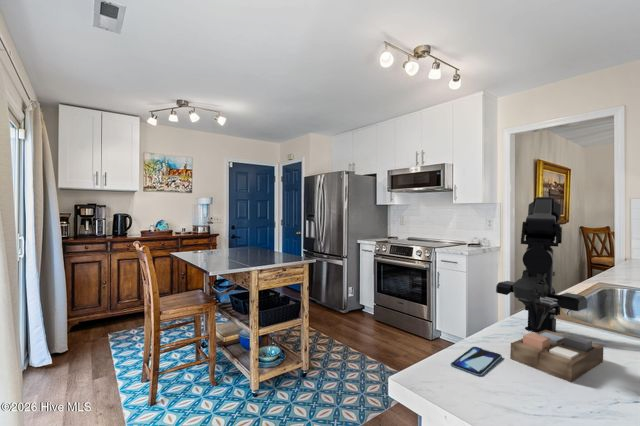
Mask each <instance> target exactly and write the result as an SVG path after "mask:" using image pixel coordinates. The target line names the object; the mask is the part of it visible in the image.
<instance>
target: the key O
mask: <svg viewBox="0 0 640 426" xmlns="http://www.w3.org/2000/svg"><path fill="white" fill-rule="evenodd" d="M565 336H566V337H564V346H568V347H571V348H574V349H577V350H580V351H584V352H589V351H590V350H592V343H593V339H589V338H585V337H582V336H579V335H576V334H569V335H565Z"/></svg>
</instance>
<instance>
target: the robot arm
mask: <svg viewBox="0 0 640 426" xmlns="http://www.w3.org/2000/svg"><path fill="white" fill-rule="evenodd" d="M527 209H528V211H527V215H526V218H525V221H522V224H521V225H522V227H521V234H520V235H521V236H520V245H527V247H526V249H525V252H524V253H523V255H522V263H523V266H524V267H525V269H523V270H522V273H521V274H522V275H521V278H519V279H518V280H516V281H510V280H505V281H500V282H498V283H497V284H496V287H495V293H496V294H501V295H505V296H508V295H509V294H511V293H513V295H514V298H516V299H517V301H519V302H521V303H522V304H523V305H524V310H525V311H527V326H525V327H524V329H525V330H528V331H532V332H533V333H538V332H541V331H544V330H548V331H552V332H555V333H557V319H556V318H555V316H557V317H558V316H561V309H565V310H569V311H573V312H580V311H582V310H584V309H587V308H588V299H587V298H586V297H585V295H581V294H576V293H570V292H565V293H561V294H557V293H556V288H555V287H554V285H553V279H554V276H555V275H556V272H555V271H554V249H553V247H555V248H556V247H557V248H558V247H559V244H562V243H563V241H562V240H563V239H562V233H563V227H562V226H561V224H560V222H561V221H562V219H561V218H562V204H561V203H558V201H557V202H556V201H555V197H553V196H537V197H533V201H532V202H530V203H529V204H528V208H527Z"/></svg>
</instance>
